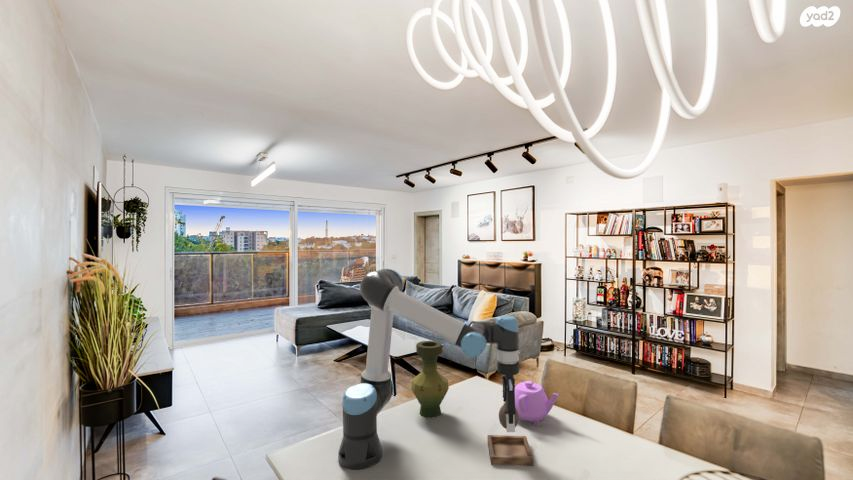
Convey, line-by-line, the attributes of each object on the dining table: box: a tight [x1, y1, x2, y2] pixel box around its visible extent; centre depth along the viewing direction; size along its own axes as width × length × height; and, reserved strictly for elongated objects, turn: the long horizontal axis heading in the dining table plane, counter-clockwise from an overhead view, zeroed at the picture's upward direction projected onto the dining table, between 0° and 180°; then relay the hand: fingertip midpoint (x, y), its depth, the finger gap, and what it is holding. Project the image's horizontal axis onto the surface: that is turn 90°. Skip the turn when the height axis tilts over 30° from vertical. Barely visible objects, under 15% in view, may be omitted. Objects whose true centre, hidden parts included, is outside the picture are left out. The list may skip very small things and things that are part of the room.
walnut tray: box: [487, 434, 535, 467], centre depth 132 cm, size 14×14×3 cm
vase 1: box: [410, 340, 449, 419], centre depth 164 cm, size 16×16×30 cm
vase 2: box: [498, 401, 519, 430], centre depth 132 cm, size 7×7×9 cm
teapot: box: [515, 380, 560, 426], centre depth 156 cm, size 20×20×15 cm
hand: (509, 426), depth 132 cm, fingers closed on vase 2, 7 cm apart
